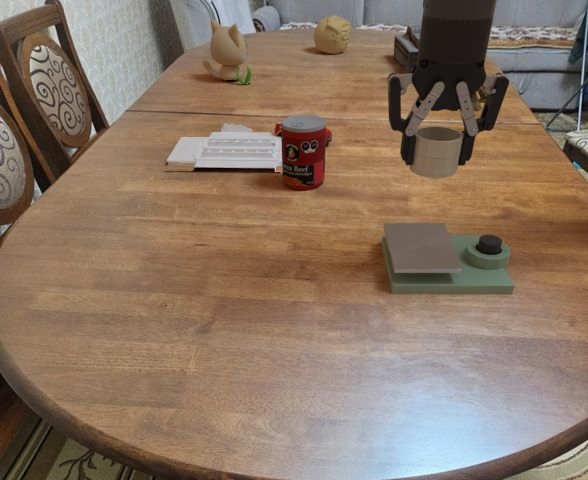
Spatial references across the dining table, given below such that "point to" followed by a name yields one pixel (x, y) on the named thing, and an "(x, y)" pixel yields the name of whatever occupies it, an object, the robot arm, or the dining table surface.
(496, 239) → the tare button
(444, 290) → the scale
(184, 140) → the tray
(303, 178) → the canned food
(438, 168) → the cup
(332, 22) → the sculpture
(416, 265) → the platform
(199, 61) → the dining table surface
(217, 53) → the kitten
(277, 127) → the race car
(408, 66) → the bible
